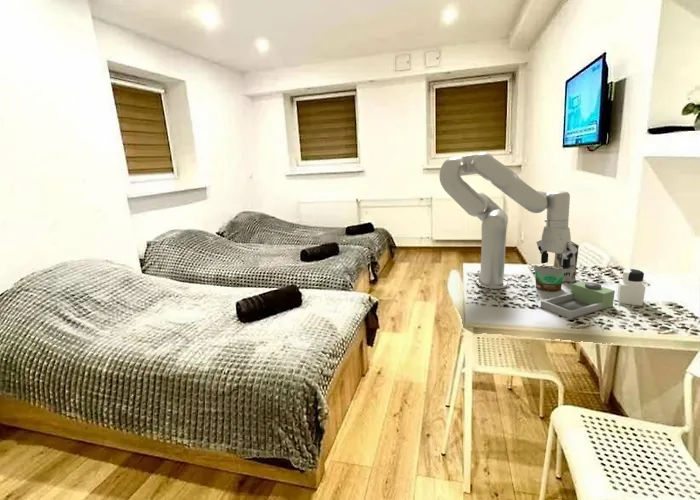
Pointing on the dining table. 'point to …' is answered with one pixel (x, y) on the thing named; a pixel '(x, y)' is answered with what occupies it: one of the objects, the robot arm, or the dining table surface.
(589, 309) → the shallow rimmed tray
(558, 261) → the coffee box
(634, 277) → the medicine bottle
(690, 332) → the dining table surface
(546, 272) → the food container
